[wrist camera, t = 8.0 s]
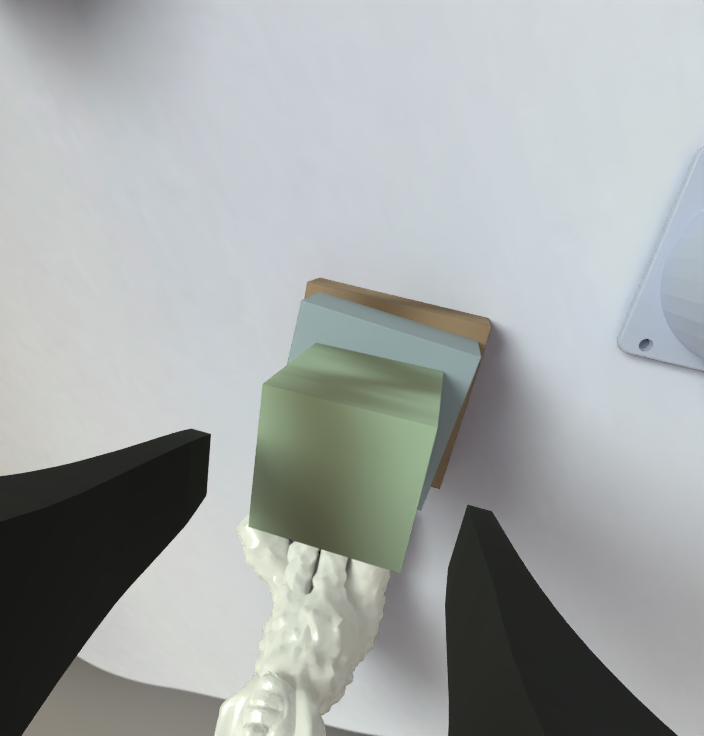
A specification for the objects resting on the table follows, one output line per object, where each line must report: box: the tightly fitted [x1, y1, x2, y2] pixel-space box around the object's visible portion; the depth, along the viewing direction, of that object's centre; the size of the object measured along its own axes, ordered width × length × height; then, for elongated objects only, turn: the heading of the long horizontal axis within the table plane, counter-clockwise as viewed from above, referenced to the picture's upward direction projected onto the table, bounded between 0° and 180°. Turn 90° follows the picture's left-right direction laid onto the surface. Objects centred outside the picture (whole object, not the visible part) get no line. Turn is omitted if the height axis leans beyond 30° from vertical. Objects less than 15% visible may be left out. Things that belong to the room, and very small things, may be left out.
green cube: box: [248, 343, 444, 573], centre depth 15 cm, size 5×5×5 cm
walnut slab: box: [304, 278, 491, 489], centre depth 21 cm, size 8×8×2 cm
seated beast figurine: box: [215, 513, 390, 736], centre depth 20 cm, size 10×9×12 cm
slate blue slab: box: [287, 292, 481, 510], centre depth 19 cm, size 7×7×2 cm
